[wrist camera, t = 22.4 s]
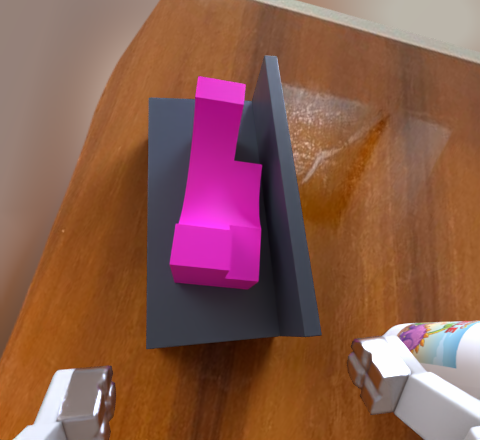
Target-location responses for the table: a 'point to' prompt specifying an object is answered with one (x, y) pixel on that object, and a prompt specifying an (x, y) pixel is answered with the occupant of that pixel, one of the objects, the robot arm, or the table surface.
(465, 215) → the table surface
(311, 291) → the shelf
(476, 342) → the milk bottle
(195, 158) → the toy block
